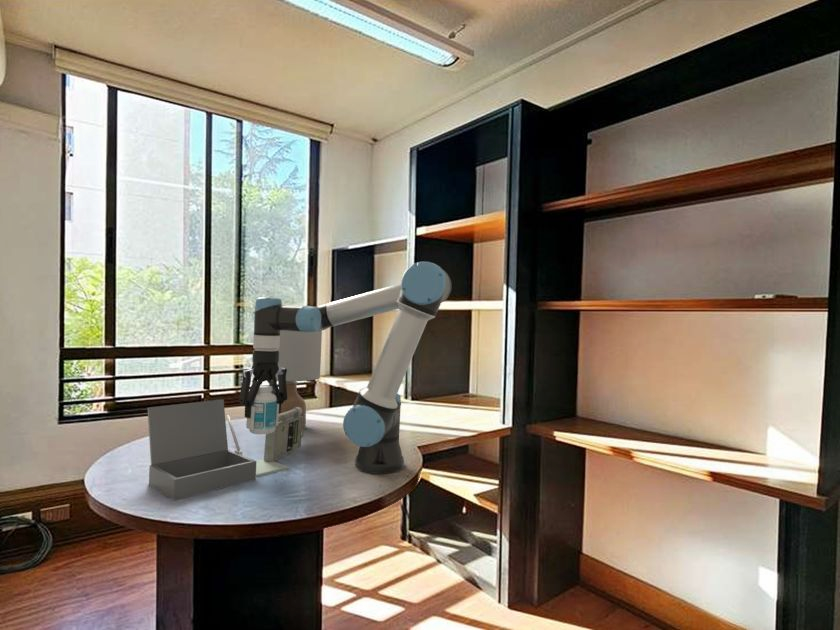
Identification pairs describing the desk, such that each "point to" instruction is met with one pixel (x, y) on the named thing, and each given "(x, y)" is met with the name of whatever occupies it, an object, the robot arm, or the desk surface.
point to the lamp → (299, 364)
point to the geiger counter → (284, 435)
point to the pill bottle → (264, 411)
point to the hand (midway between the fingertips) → (262, 426)
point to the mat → (268, 467)
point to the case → (194, 450)
